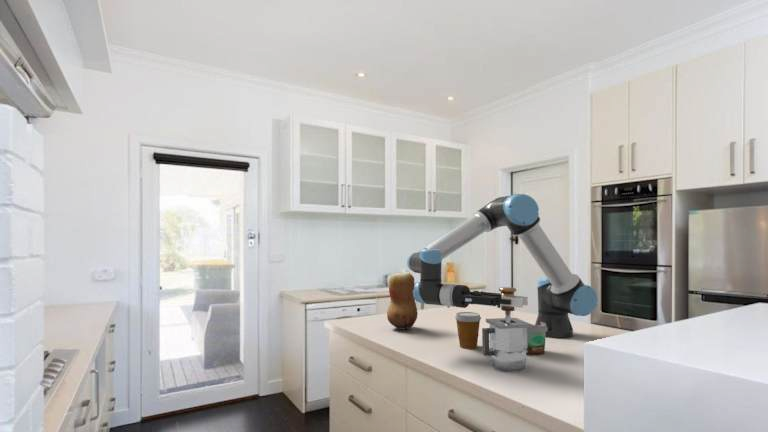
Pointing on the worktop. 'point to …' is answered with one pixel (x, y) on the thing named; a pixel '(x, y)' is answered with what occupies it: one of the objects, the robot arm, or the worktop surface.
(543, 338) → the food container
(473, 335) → the disposable coffee cup
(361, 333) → the worktop surface
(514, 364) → the press carafe
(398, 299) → the butternut squash
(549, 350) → the worktop surface
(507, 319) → the plunger
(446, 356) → the worktop surface
